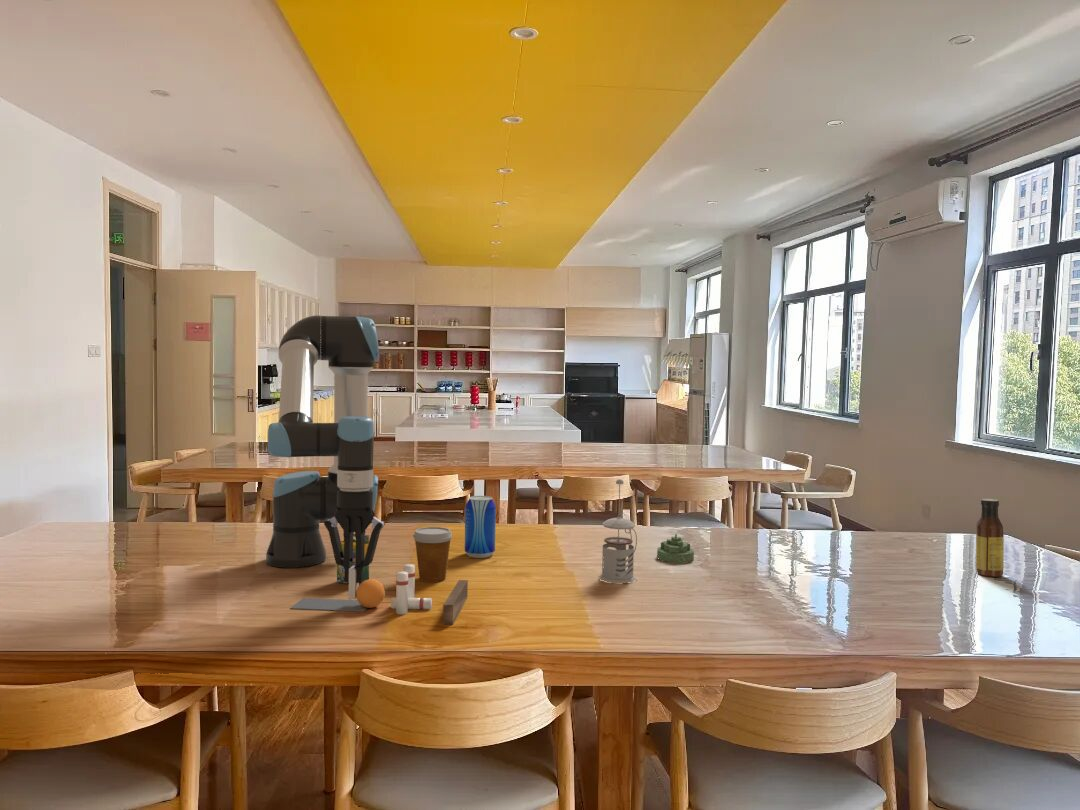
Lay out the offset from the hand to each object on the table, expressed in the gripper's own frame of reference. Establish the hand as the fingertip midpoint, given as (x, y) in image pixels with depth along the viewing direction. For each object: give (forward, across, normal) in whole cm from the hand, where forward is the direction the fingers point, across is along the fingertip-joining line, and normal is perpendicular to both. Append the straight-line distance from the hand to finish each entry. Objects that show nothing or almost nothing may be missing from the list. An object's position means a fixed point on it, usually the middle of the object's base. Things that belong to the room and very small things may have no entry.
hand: (353, 597), depth 165 cm
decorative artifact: (+2, +74, +52) cm, 91 cm away
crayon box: (+2, -6, +17) cm, 18 cm away
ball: (-1, +4, 0) cm, 4 cm away
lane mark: (+2, -5, 0) cm, 5 cm away
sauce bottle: (+1, +155, +47) cm, 162 cm away
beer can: (+2, +20, +48) cm, 52 cm away
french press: (+2, +58, +30) cm, 66 cm away
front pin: (+1, +8, 0) cm, 8 cm away
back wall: (+2, +22, 0) cm, 22 cm away
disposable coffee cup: (+2, +12, +23) cm, 26 cm away
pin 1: (+2, +11, -3) cm, 12 cm away
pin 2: (+2, +11, +3) cm, 12 cm away
